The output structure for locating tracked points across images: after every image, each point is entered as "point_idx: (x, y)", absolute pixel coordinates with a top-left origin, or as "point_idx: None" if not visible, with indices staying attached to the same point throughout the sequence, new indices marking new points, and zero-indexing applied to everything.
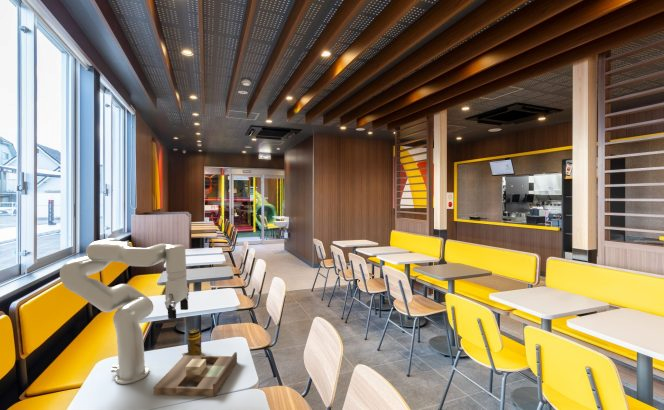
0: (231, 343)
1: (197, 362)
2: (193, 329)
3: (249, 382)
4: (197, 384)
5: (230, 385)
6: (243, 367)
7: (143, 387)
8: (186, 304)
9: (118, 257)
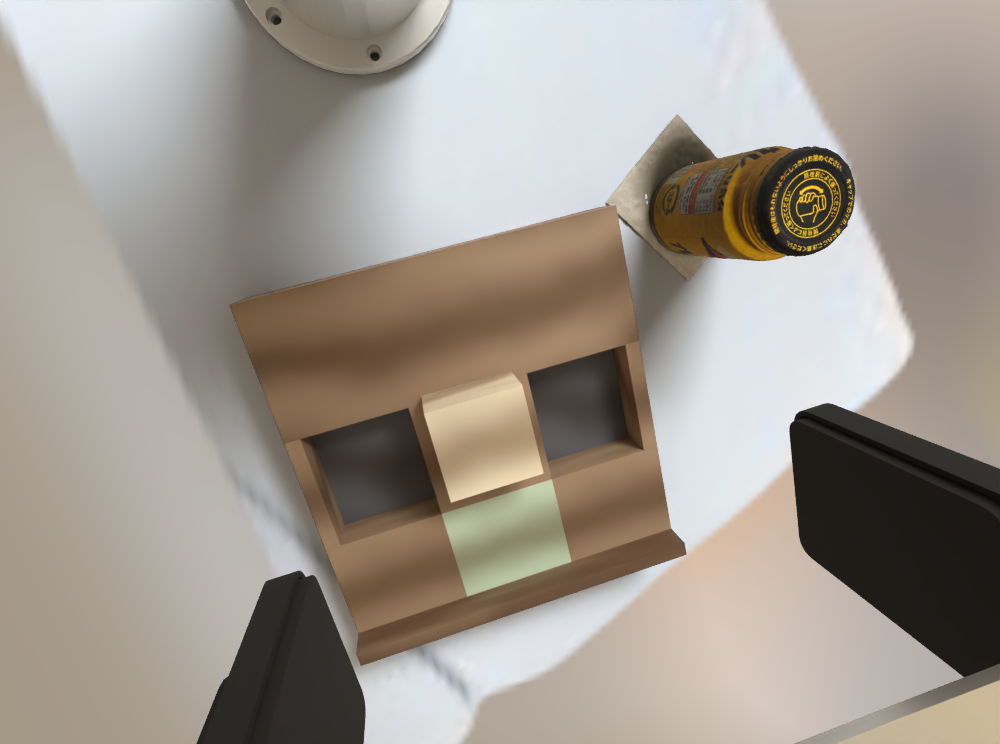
0: (842, 352)
1: (492, 451)
2: (837, 176)
3: (514, 676)
4: (412, 470)
5: None
6: None
7: (272, 167)
8: (905, 625)
9: None
